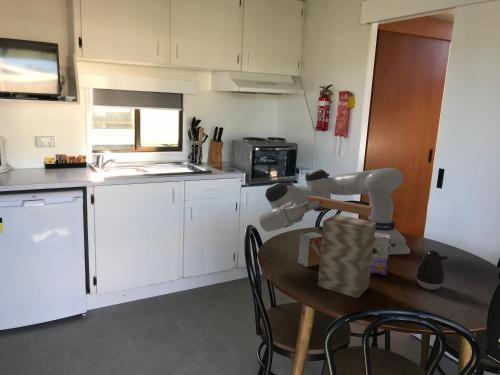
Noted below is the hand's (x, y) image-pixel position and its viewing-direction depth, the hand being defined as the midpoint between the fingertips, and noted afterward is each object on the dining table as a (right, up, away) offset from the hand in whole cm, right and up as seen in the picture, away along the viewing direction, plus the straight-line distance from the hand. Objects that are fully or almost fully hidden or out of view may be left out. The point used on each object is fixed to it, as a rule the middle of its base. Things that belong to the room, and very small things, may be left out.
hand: (322, 200), depth 162 cm
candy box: (+23, -30, +17) cm, 42 cm away
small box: (-2, -28, +22) cm, 35 cm away
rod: (+6, -3, -3) cm, 7 cm away
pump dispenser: (+42, -34, +4) cm, 54 cm away
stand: (+8, -33, +1) cm, 34 cm away
